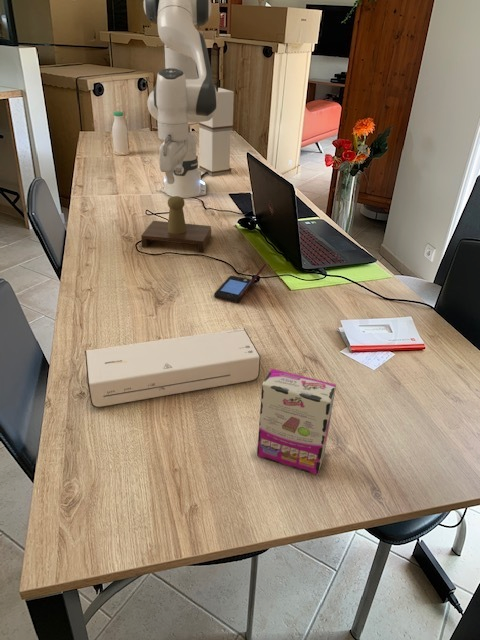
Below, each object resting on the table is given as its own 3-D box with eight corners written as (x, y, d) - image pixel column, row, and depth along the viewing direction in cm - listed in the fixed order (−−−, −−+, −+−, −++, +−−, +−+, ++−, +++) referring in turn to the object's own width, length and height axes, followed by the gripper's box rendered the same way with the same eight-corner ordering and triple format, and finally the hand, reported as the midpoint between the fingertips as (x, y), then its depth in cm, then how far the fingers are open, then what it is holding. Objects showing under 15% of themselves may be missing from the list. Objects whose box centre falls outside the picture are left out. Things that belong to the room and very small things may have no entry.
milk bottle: (127, 156, 248) (124, 113, 237) (112, 155, 248) (108, 113, 237) (131, 152, 255) (127, 110, 244) (116, 151, 255) (112, 110, 244)
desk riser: (153, 231, 168) (153, 220, 166) (211, 237, 166) (211, 225, 164) (141, 247, 157) (141, 235, 155) (203, 253, 155) (203, 241, 153)
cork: (183, 234, 156) (182, 201, 150) (165, 232, 157) (163, 199, 151) (188, 228, 161) (188, 195, 155) (171, 225, 162) (169, 193, 156)
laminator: (91, 409, 94) (87, 384, 91) (88, 370, 104) (84, 346, 100) (259, 380, 103) (260, 356, 100) (241, 346, 113) (242, 324, 110)
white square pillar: (231, 173, 230) (233, 91, 211) (212, 176, 225) (212, 92, 206) (218, 167, 238) (219, 87, 219) (199, 169, 232) (198, 88, 213)
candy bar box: (324, 455, 87) (338, 383, 78) (318, 476, 83) (331, 403, 74) (264, 437, 90) (271, 366, 81) (255, 456, 86) (261, 384, 77)
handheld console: (230, 278, 141) (231, 254, 137) (265, 286, 138) (267, 262, 134) (212, 298, 131) (212, 273, 127) (250, 307, 128) (251, 282, 124)
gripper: (174, 141, 135) (176, 190, 142) (191, 124, 152) (192, 169, 159) (152, 139, 135) (155, 188, 143) (171, 123, 152) (173, 168, 160)
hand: (174, 178), depth 151 cm, fingers open, 8 cm apart
